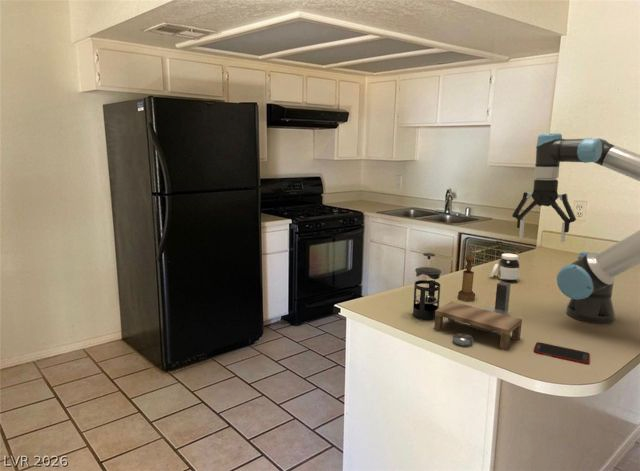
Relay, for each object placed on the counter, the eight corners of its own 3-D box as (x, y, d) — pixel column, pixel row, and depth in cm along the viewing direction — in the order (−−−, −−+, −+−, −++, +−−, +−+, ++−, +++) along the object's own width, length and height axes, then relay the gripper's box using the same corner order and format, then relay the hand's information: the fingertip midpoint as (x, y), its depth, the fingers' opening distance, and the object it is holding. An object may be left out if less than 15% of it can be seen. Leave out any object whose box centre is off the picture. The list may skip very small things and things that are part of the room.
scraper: (513, 317, 168) (517, 284, 166) (493, 333, 154) (496, 298, 152) (491, 311, 174) (494, 280, 171) (469, 326, 160) (472, 292, 157)
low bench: (520, 338, 151) (522, 319, 149) (506, 350, 142) (508, 330, 141) (450, 318, 166) (451, 301, 165) (434, 328, 157) (435, 310, 156)
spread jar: (520, 283, 207) (523, 258, 205) (494, 283, 207) (496, 257, 205) (510, 275, 219) (512, 251, 216) (485, 275, 219) (487, 251, 216)
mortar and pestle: (475, 302, 183) (479, 257, 180) (458, 300, 184) (461, 256, 181) (473, 296, 190) (477, 253, 186) (457, 295, 191) (460, 252, 187)
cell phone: (588, 366, 133) (589, 363, 133) (532, 353, 141) (533, 350, 140) (589, 355, 140) (590, 352, 140) (536, 344, 147) (536, 341, 147)
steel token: (476, 344, 146) (476, 338, 146) (465, 349, 143) (465, 343, 142) (459, 337, 151) (460, 332, 151) (448, 342, 147) (448, 336, 147)
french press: (433, 323, 162) (437, 258, 157) (407, 317, 167) (410, 254, 162) (443, 312, 172) (448, 251, 167) (419, 307, 176) (422, 248, 172)
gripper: (589, 179, 158) (583, 241, 162) (512, 177, 173) (508, 234, 177) (585, 181, 152) (578, 245, 156) (505, 178, 167) (502, 237, 171)
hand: (541, 239), depth 166 cm, fingers open, 13 cm apart
